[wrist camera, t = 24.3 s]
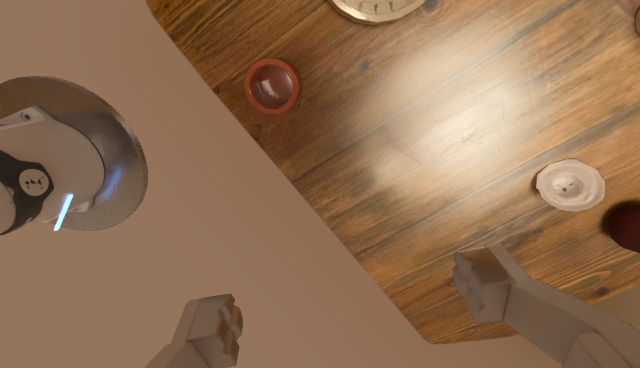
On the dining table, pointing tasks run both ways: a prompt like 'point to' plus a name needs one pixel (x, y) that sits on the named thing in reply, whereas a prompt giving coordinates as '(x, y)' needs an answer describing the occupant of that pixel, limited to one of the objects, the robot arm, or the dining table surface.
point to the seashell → (570, 185)
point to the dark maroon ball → (626, 228)
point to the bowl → (374, 10)
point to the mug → (638, 21)
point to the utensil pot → (273, 85)
